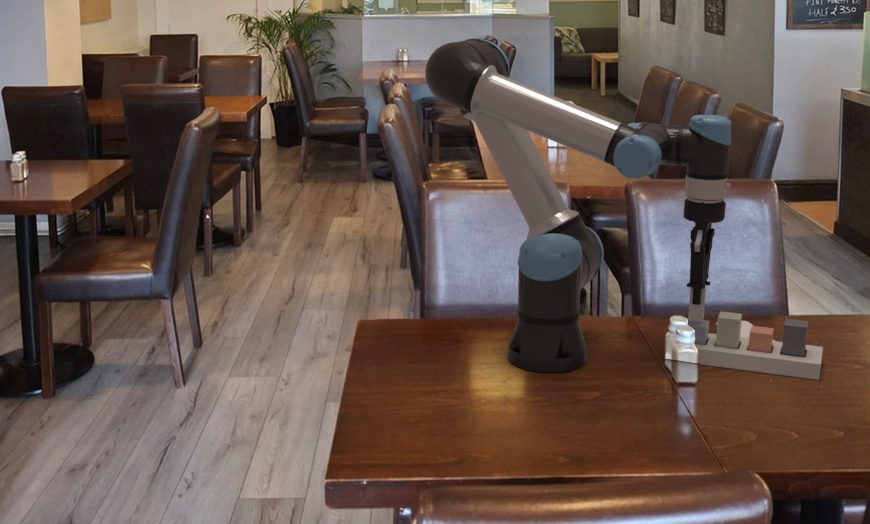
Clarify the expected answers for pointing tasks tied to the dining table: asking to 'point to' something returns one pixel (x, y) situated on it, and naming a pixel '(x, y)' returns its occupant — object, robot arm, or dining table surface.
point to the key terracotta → (761, 339)
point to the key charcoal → (794, 337)
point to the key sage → (728, 330)
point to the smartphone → (745, 329)
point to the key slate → (700, 330)
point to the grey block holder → (761, 359)
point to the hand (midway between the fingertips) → (695, 318)
